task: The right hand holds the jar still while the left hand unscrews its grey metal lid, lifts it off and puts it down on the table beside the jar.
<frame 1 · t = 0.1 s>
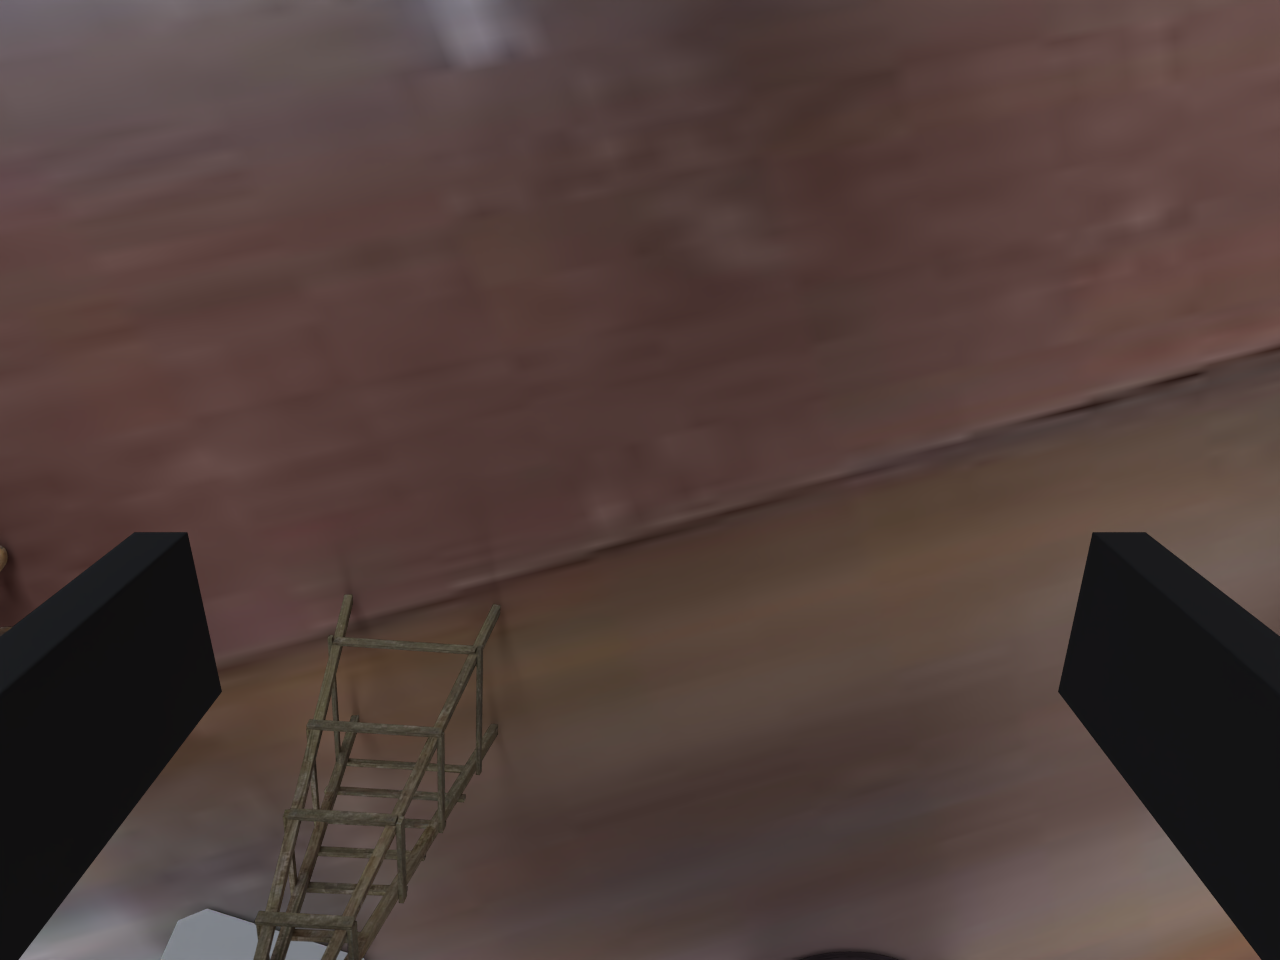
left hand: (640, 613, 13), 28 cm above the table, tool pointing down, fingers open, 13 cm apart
miniature windmill: (425, 664, 46), on the table
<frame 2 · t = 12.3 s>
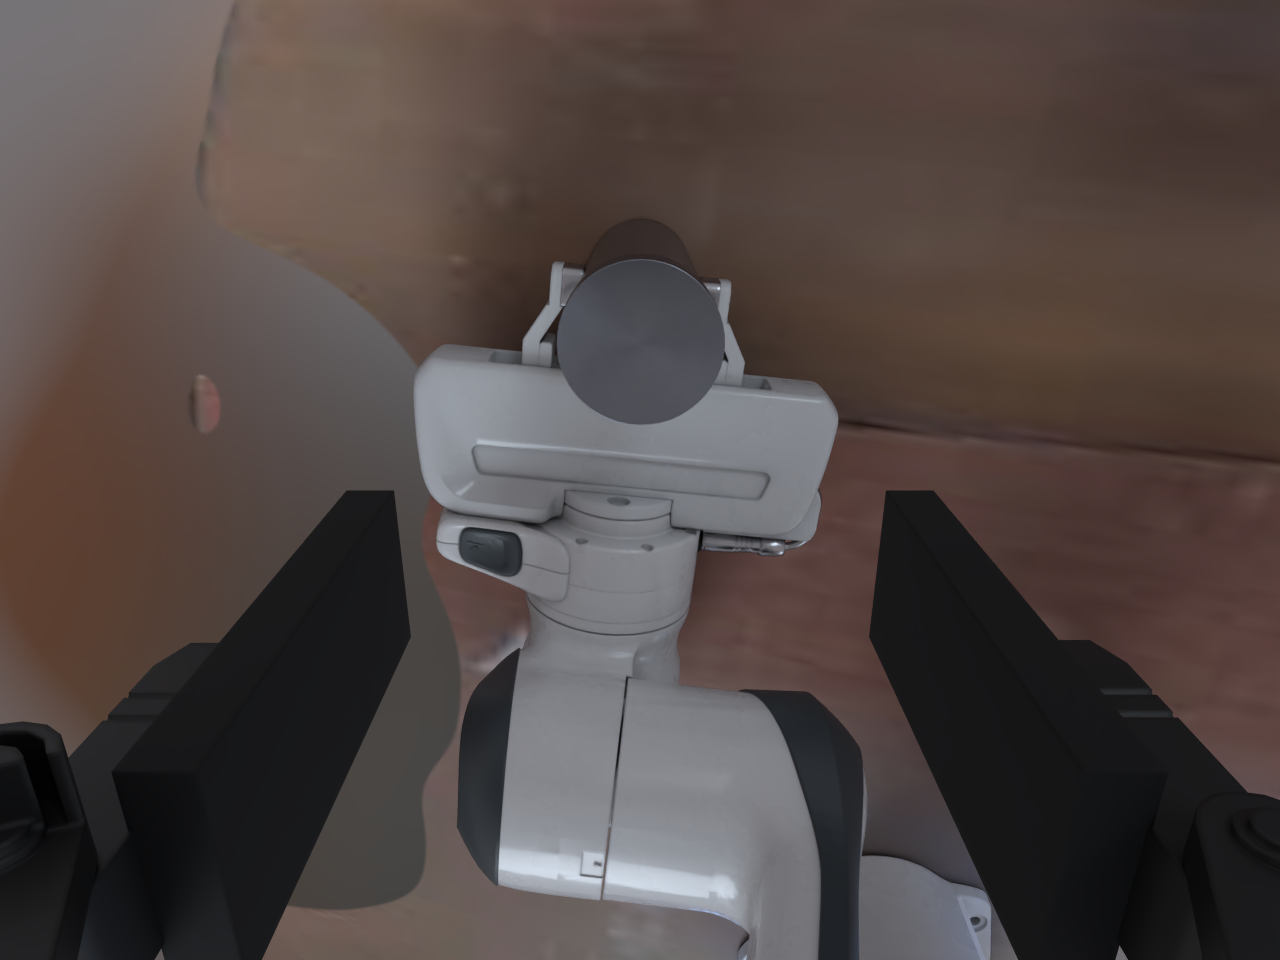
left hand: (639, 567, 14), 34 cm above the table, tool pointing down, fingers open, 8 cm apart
right hand: (641, 271, 39), fingers closed on jar, 5 cm apart
jar: (640, 271, 46), on the table, touching right hand
lid: (640, 343, 30), point 18 cm above the table, screwed on, not yet turned
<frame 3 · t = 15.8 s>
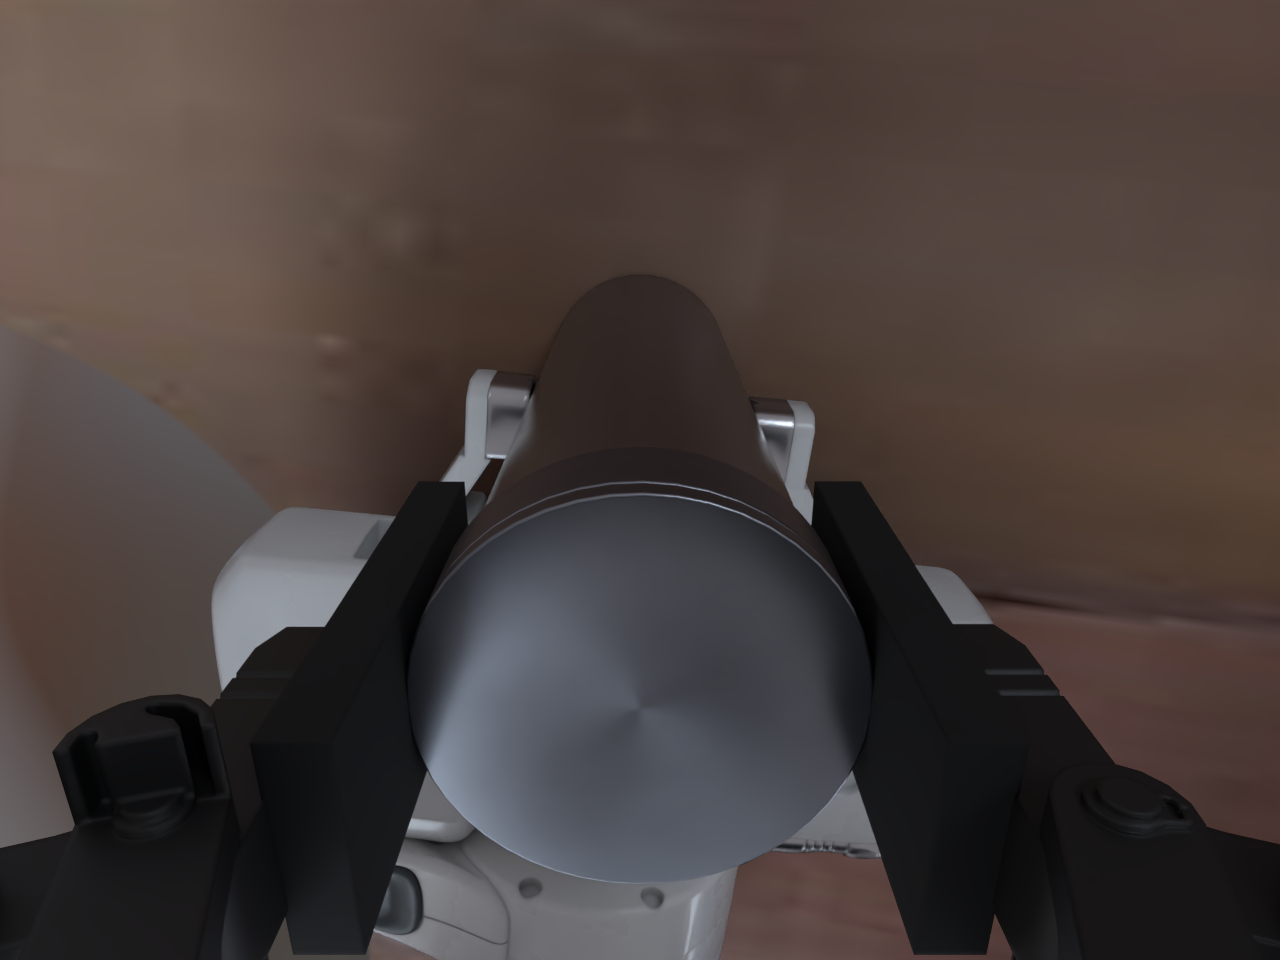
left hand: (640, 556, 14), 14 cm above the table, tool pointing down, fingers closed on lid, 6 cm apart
jar: (639, 360, 27), on the table, touching right hand
lid: (639, 692, 11), point 18 cm above the table, screwed on, not yet turned, touching left hand
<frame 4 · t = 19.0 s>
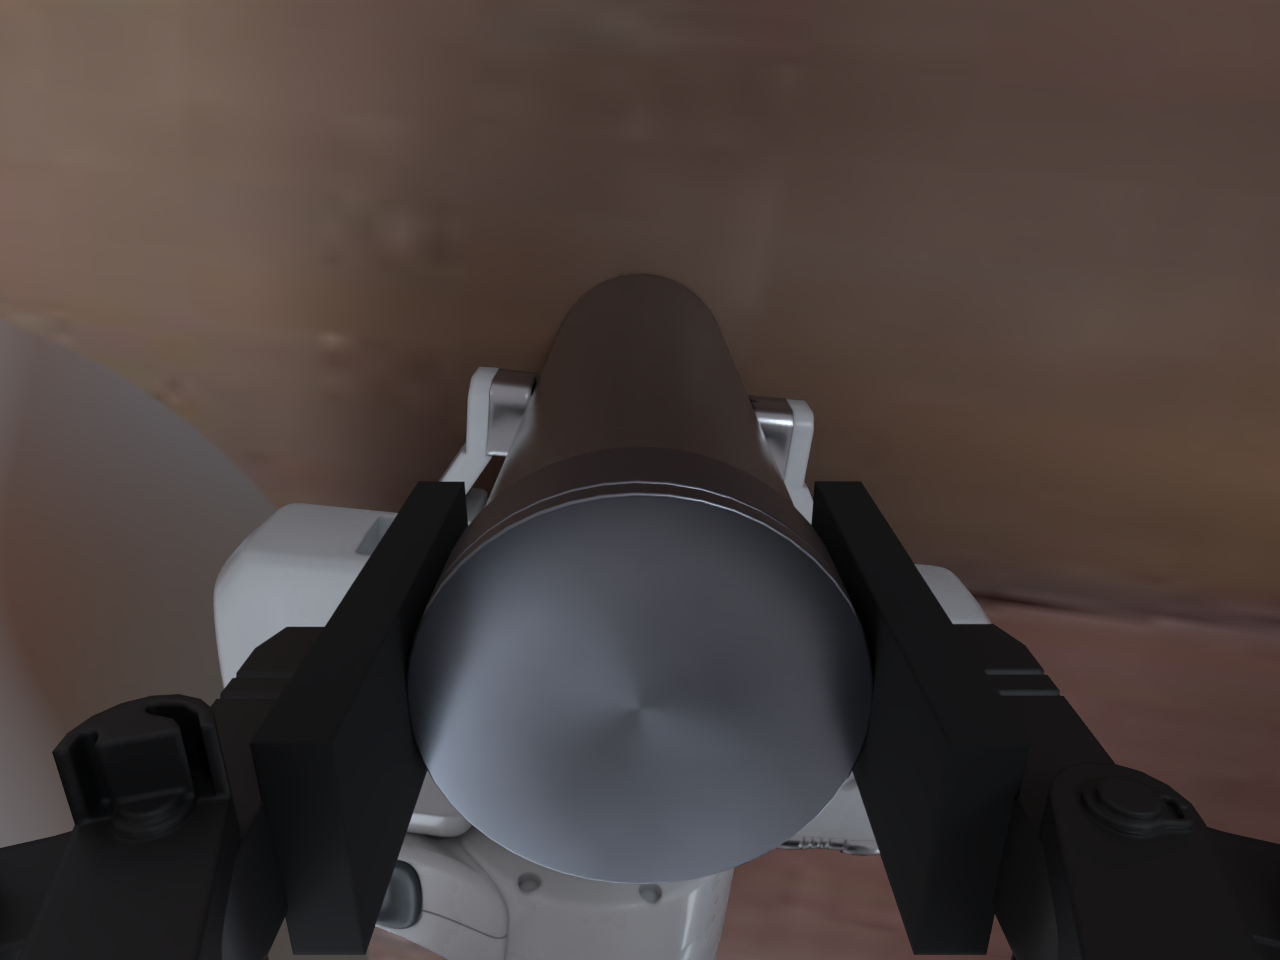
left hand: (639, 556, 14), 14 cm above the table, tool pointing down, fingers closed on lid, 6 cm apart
jar: (639, 359, 27), on the table, touching right hand
lid: (639, 692, 11), point 18 cm above the table, turned 100° so far, risen 0.2 cm, still on its thread, touching left hand
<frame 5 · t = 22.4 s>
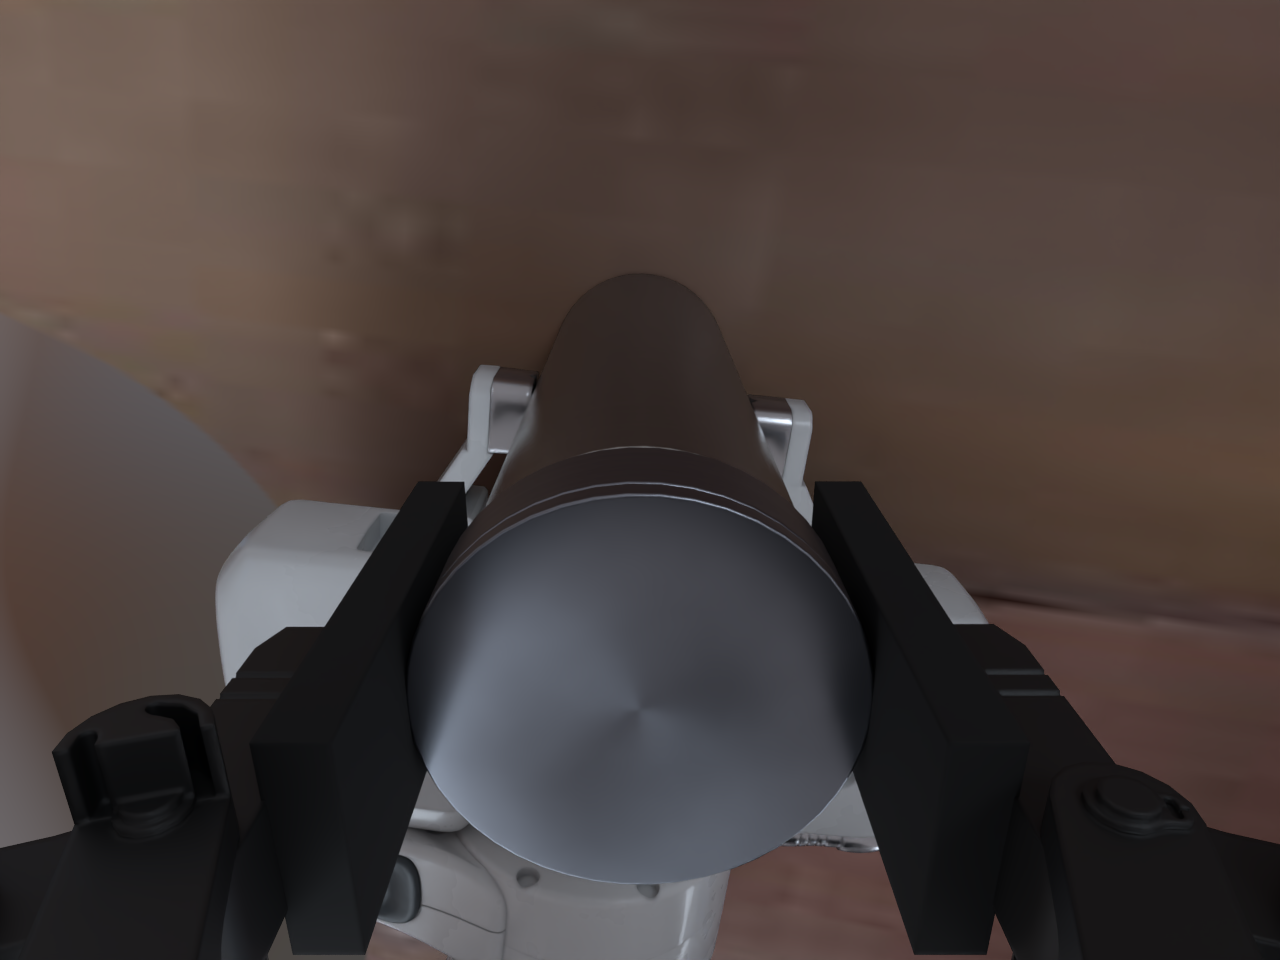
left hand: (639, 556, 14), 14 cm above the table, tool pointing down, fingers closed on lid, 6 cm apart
jar: (639, 358, 27), on the table, touching right hand
lid: (639, 692, 11), point 18 cm above the table, turned 199° so far, risen 0.3 cm, still on its thread, touching left hand
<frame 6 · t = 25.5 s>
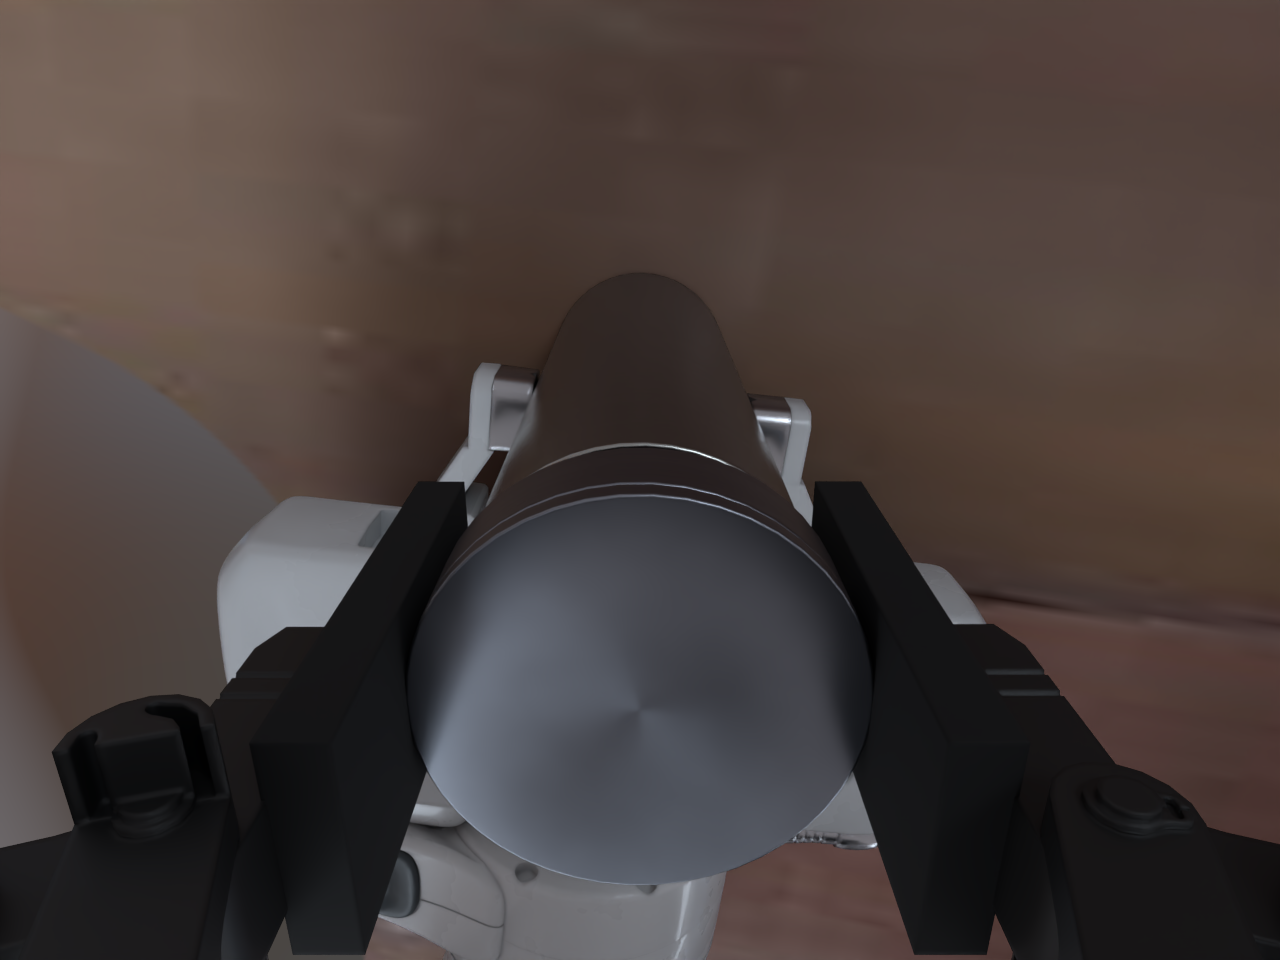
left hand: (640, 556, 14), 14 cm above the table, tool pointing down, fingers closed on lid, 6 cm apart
jar: (639, 357, 28), on the table, touching right hand
lid: (639, 693, 11), point 18 cm above the table, turned 299° so far, risen 0.5 cm, still on its thread, touching left hand
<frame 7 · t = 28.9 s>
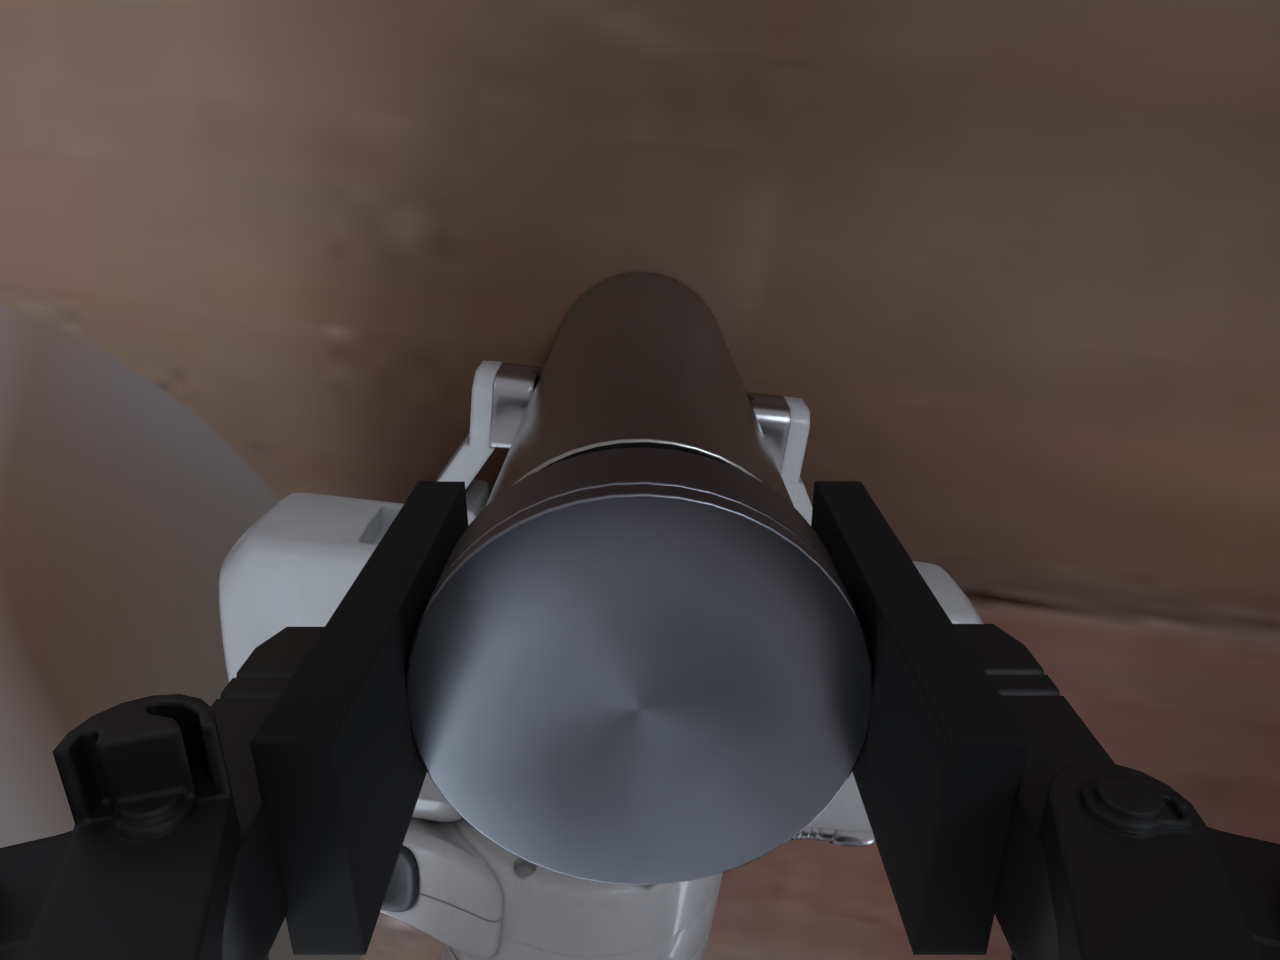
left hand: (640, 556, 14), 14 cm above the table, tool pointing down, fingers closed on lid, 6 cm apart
jar: (639, 356, 28), on the table, touching right hand
lid: (639, 693, 11), point 18 cm above the table, turned 398° so far, risen 0.6 cm, still on its thread, touching left hand
when the left hand's fingers open (0 cm above the table, at t = 37.6 s): lid drops 3 cm, point 1 cm above the table.
when the right hand's fingers open (7 cm above the table, at t = 38.3 s): jar stays where it is, on the table.
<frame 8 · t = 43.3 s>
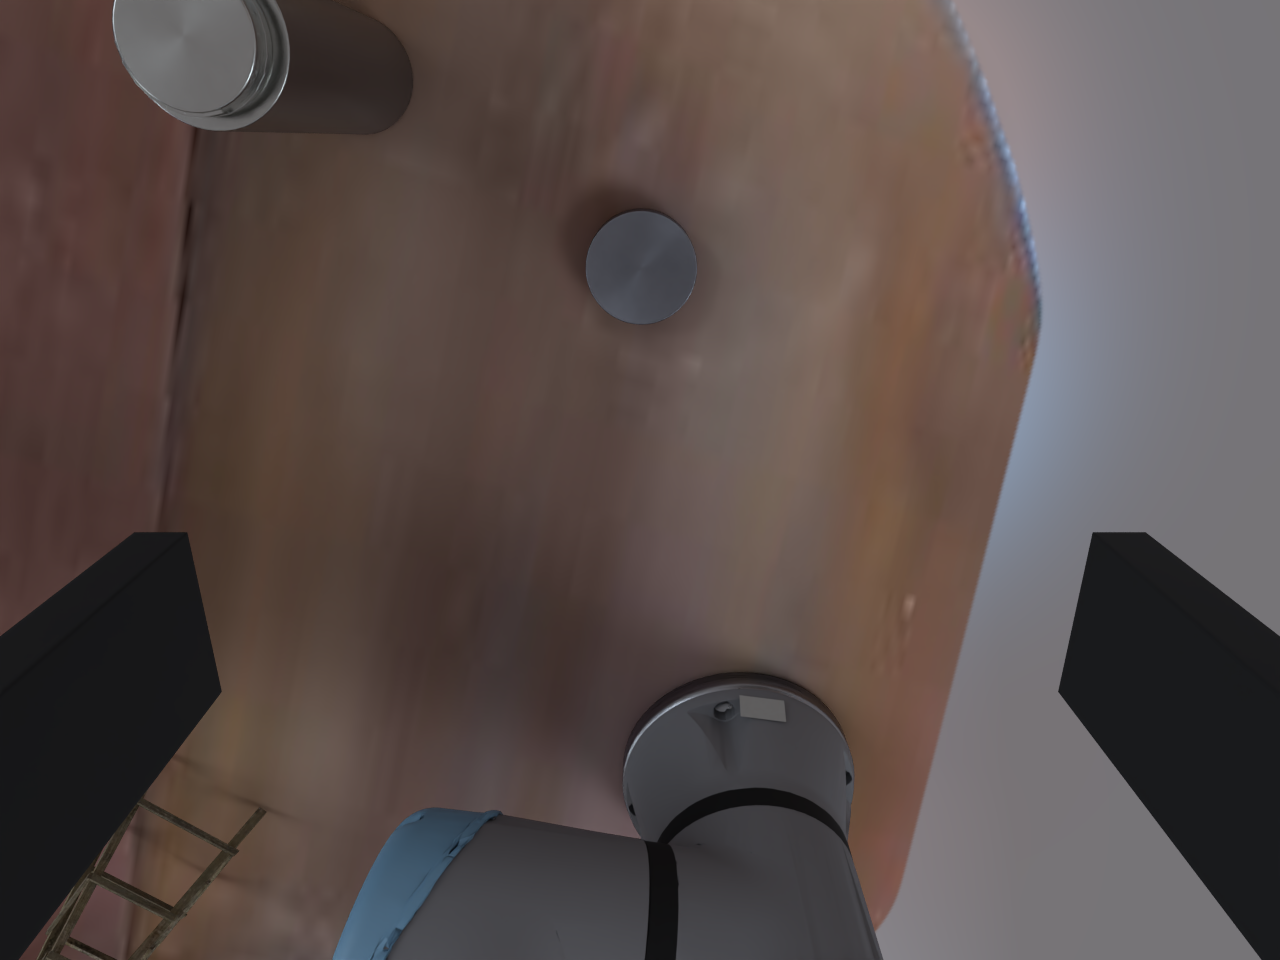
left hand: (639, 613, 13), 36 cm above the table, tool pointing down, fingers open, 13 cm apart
jar: (358, 75, 42), on the table
miniature windmill: (188, 815, 60), on the table
lid: (641, 268, 45), point 1 cm above the table, off its thread
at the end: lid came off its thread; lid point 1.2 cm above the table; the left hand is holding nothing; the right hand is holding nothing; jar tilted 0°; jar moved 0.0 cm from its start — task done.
